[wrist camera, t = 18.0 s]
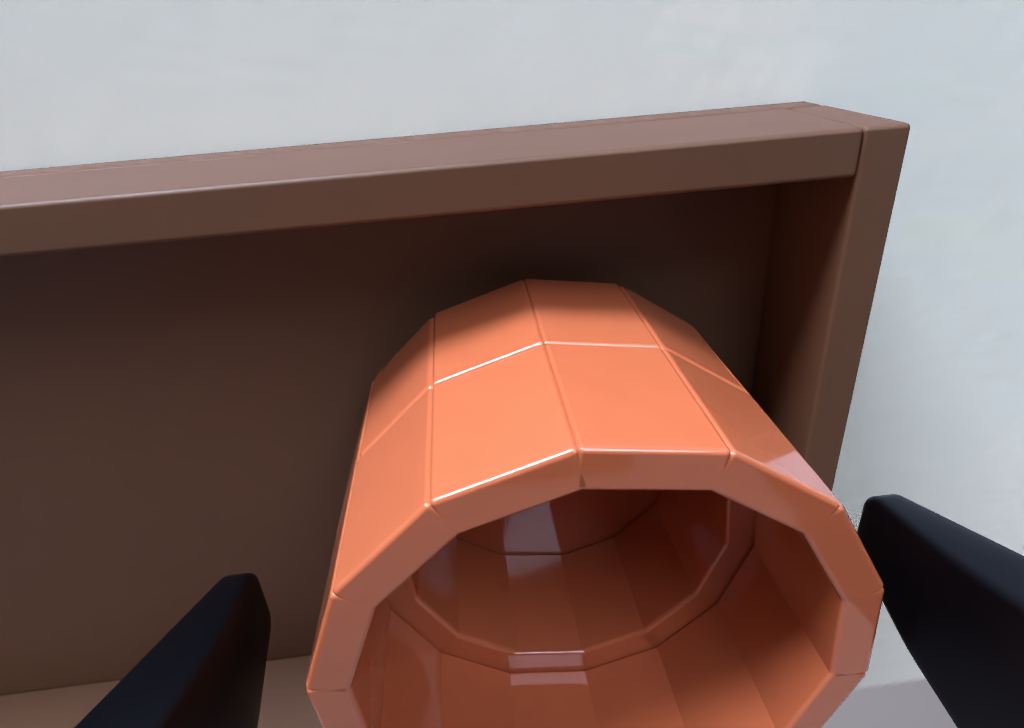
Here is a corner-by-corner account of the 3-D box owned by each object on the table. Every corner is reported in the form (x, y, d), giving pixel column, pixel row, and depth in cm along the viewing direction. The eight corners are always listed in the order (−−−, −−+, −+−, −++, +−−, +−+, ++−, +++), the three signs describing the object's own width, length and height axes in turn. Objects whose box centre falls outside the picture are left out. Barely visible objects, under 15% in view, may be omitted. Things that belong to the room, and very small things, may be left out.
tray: (806, 100, 10) (913, 122, 8) (737, 594, 15) (789, 694, 13) (-886, 248, 9) (-1353, 328, 6) (-329, 731, 14) (-480, 869, 12)
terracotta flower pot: (749, 503, 13) (904, 744, 9) (446, 608, 14) (448, 885, 9) (675, 205, 10) (858, 346, 6) (287, 357, 11) (178, 593, 6)
